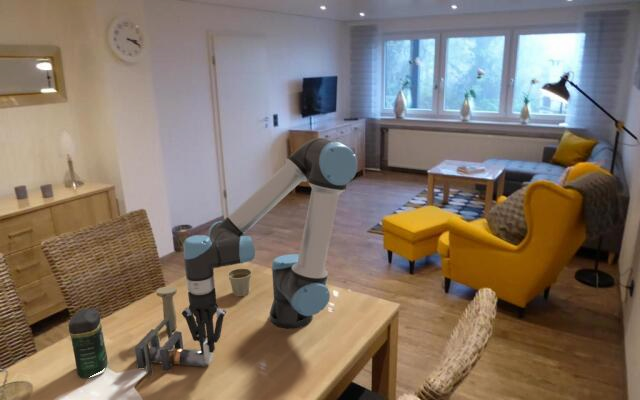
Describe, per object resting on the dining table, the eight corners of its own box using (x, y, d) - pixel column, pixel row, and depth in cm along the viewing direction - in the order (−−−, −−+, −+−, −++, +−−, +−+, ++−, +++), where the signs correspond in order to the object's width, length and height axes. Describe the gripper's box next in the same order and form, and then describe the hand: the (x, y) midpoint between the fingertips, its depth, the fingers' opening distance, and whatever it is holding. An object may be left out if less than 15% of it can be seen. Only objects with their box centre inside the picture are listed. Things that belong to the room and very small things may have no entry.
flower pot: (233, 287, 182) (231, 267, 179) (256, 288, 180) (254, 268, 178) (225, 298, 173) (223, 278, 170) (249, 299, 172) (247, 279, 169)
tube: (210, 358, 136) (208, 347, 134) (204, 369, 132) (202, 358, 130) (155, 354, 139) (152, 343, 137) (148, 364, 135) (145, 353, 133)
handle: (179, 333, 151) (173, 293, 146) (159, 333, 150) (154, 293, 146) (183, 325, 155) (178, 286, 151) (164, 325, 155) (159, 286, 151)
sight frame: (173, 346, 143) (169, 316, 140) (150, 374, 130) (145, 342, 127) (171, 346, 144) (167, 315, 140) (147, 374, 130) (142, 341, 127)
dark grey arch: (183, 351, 141) (181, 331, 138) (168, 371, 131) (165, 350, 129) (178, 351, 141) (175, 331, 139) (162, 370, 132) (159, 349, 130)
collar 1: (160, 349, 142) (157, 329, 140) (144, 368, 133) (140, 348, 131) (154, 349, 142) (151, 329, 140) (137, 368, 133) (134, 347, 131)
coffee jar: (105, 376, 130) (95, 320, 125) (75, 382, 128) (63, 325, 123) (110, 356, 139) (100, 303, 134) (82, 362, 137) (71, 308, 131)
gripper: (174, 294, 124) (183, 366, 131) (218, 297, 122) (225, 370, 129) (186, 282, 132) (194, 351, 138) (228, 284, 129) (234, 354, 136)
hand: (209, 360), depth 134 cm, fingers closed
